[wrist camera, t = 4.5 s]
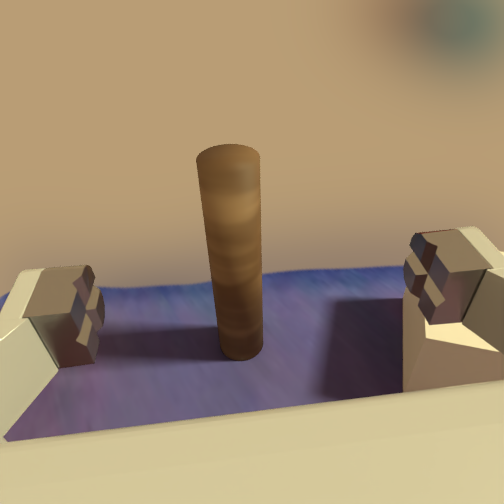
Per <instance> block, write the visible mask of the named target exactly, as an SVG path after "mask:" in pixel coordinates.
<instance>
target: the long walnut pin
mask: <svg viewBox="0 0 504 504" xmlns="http://www.w3.org/2000/svg"><path fill="white" fill-rule="evenodd" d="M196 163H197V170H198V178H199V186H200V194H201V201H202V209H203V216H204V224H205V232H206V240H207V247H208V255H209V263H210V271H211V279H212V286H213V294H214V302H215V309H216V317H217V325H218V333H219V340H220V347H221V350H222V352H223V353H224V354H225V355H226V356H227V357H228V358H230V359H233V360H237V361H244V360H249V359H251V358H253V357H255V356H256V355H257V354H258V353H259V352H260V351H261V349H262V346H263V311H262V258H261V257H262V255H261V204H260V203H261V201H260V200H261V199H260V156H259V153H258V152H257V151H256V150H254V149H253V148H251V147H248V146H244V145H238V144H224V145H218V146H213V147H210V148H208V149H206V150H204V151H202V152H201V153H200V154H199V155H198V156H197V159H196Z"/></svg>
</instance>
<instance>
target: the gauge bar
mask: <svg viewBox="0 0 504 504" xmlns="http://www.w3.org/2000/svg"><path fill="white" fill-rule="evenodd" d="M501 254H502V255H503V256H504V252H501ZM419 300H420V299H419V298H418V297H416V296H414V295H413V294H411V293H410V292H409V290H408V288H407V286H406V289H405V293H404V296H403V393H404V392H412V391H420V390H428V389H436V388H444V387H452V386H460V385H467V384H475V383H483V382H491V381H499V380H504V355H503V354H502V353H501V352H499V351H498V350H496V349H495V348H494V347H492V346H491V345H490V344H488V343H487V342H486V341H484V340H483V339H481V338H480V337H479V336H477V335H476V334H475V333H473V332H472V331H471V330H469V329H468V328H466V327H465V326H464V325H462V322H461V323H449V324H438V325H429V324H428V322H427V321H426V319H425V317H424V315H423V314H422V312H421V310H420V309H419V307H418V303H419Z"/></svg>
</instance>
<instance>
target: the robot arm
mask: <svg viewBox="0 0 504 504" xmlns="http://www.w3.org/2000/svg"><path fill="white" fill-rule="evenodd" d="M410 247H411V249H412V250H413V252H412V253H411V254H410V255H409V256H408V257H407V258H406V259H405V263H404V268H403V271H404V280H405V283H406V286H407V288H408V290H409V292H410V293H411V294H413V295H414V296H416V297H418V298H419V299H420V300H419V303H418V307H419V309H420V310H421V312H422V314H423V315H424V317H425V319H426V321H427V322H428V324H429V325H438V324H449V323H461V322H462V325H464V326H465V327H466V328H468V329H469V330H471V331H472V332H473V333H475V334H476V335H477V336H479V337H480V338H481V339H483V340H484V341H486V342H487V343H488V344H490V345H491V346H492V347H494V348H495V349H496V350H498V351H499V352H501V353H502V354H503V355H504V256H503V255H502V254H501V252H500V251H499V250H498V249H497V248H496V247H495V246H494V245H493V244H492V243H491V242H490V241H489V240H488V238H486V236H485V235H484V234H483V233H482V232H481V231H480V230H479V229H478V228H476V227H473V226H471V227H462V228H454V229H449V230H439V231H429V232H420V233H415V234H414V235H413V237H412V239H411V242H410ZM94 279H95V275H94V273H93V271H92V268H91V267H90V266H88V265H79V266H66V267H53V268H45V269H31V270H24V271H22V272H21V273H20V274H19V275H18V277H17V279H16V281H15V283H14V285H13V287H12V289H11V291H10V293H9V295H8V298H7V300H6V302H5V304H4V306H3V308H2V310H1V312H0V504H504V380H499V381H491V382H483V383H475V384H467V385H460V386H452V387H444V388H436V389H428V390H420V391H412V392H404V393H396V394H388V395H380V396H372V397H364V398H356V399H348V400H341V401H333V402H325V403H317V404H309V405H301V406H293V407H285V408H277V409H270V410H262V411H254V412H246V413H238V414H230V415H222V416H214V417H206V418H197V419H189V420H181V421H173V422H165V423H157V424H149V425H141V426H133V427H125V428H117V429H109V430H101V431H93V432H85V433H77V434H69V435H61V436H53V437H46V438H38V439H30V440H22V441H14V442H7V441H6V440H5V439H4V438H3V436H4V435H5V434H6V433H7V431H8V430H9V429H10V428H11V427H12V425H13V424H14V423H15V422H16V421H17V419H18V418H19V417H20V416H21V415H22V414H23V412H24V411H25V410H26V409H27V408H28V406H29V405H30V404H31V403H32V402H33V400H34V399H35V398H36V397H37V396H38V394H39V393H40V392H41V391H42V390H43V388H44V387H45V386H46V385H47V384H48V383H49V381H50V380H51V379H52V378H53V377H54V375H55V374H56V373H57V372H58V369H59V368H66V367H73V366H80V365H87V364H94V363H95V360H96V355H97V351H98V346H99V342H100V340H99V338H98V336H97V332H98V331H99V330H100V329H101V328H102V327H103V323H104V318H105V305H104V300H103V296H102V293H101V291H100V289H98V288H97V287H95V286H94V285H93V283H94Z"/></svg>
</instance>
